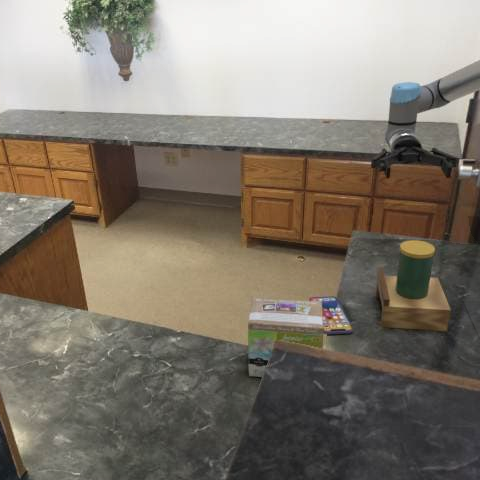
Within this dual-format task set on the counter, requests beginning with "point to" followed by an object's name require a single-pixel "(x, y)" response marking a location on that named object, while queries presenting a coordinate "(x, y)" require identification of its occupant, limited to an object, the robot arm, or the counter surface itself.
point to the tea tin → (414, 269)
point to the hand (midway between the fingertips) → (418, 173)
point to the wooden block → (412, 306)
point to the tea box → (281, 327)
